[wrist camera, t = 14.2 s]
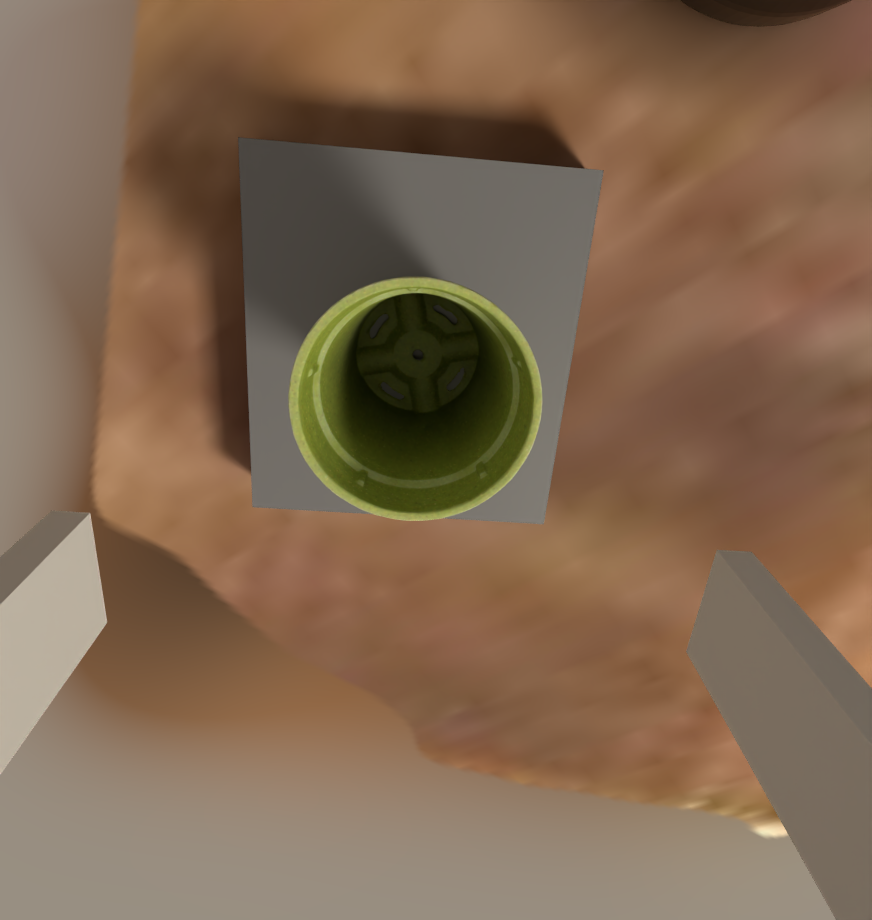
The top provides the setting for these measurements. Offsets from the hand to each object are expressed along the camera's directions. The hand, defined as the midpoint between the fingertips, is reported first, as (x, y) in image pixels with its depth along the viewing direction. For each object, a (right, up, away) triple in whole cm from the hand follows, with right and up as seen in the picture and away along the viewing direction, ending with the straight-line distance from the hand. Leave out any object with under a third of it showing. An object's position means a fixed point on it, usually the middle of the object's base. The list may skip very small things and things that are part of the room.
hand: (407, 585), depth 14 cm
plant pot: (0, +8, +18) cm, 20 cm away
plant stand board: (-1, +9, +21) cm, 23 cm away
